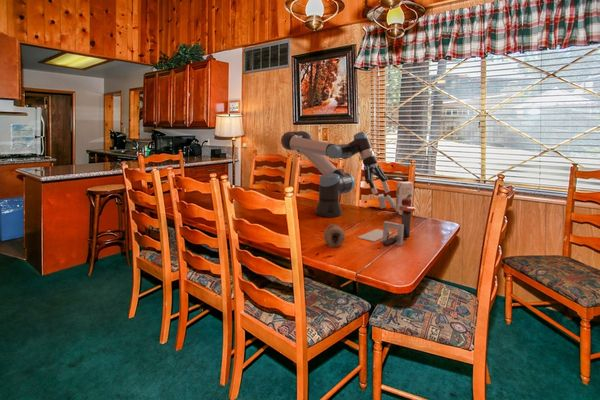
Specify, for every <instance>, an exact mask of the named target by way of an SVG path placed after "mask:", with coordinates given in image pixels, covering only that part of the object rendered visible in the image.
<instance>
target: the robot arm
mask: <svg viewBox="0 0 600 400" xmlns="http://www.w3.org/2000/svg"><path fill="white" fill-rule="evenodd" d="M280 144H281V146H282V148H284V149H285V150H286V151H293V152H297V153H298V154H299V155H300V156H302V155H304V157H306V158H307V160H308V161H310V162H311V164H313V165H314V167H315V168H316V169H317V170H318V171H319V172H320V173H321V174H322V175H320V176H319V181H318V184H319V187H318V189H319V190H318V203H317V205H316V208H315V215H316V214H317V216H318V215H319V217H323V216H324V217H325V218H333V217H334V218H337V217H340V216H342V208H341V204H340V195H343V194H348V193H350V192H351V191H352V190H354V187H355V185H356V184H355V181H356V180H355V178H354V176H353V175H352V174H351V173H348V172H345V171H344V170H343V169H342V168H337V167H336V166H335V164H333V163H332V162H331V161H330V160H329V159H335V160H336V159H337V160H338V159H342V160H348V159H351V158H352V157H353V156H355V155H356V154H358V153H359V156H360V158H361V161H362V163H363V171H364V179H365V183H366V184H367V185H369V187H370V191H371V193H372V195H376V194H378V189H377V187H376V183H375V182H374V181H373V178H374V175H376V177H377V178H378V179H379V180H380V181H381V185H382V187H383V190H384V193H385V194H387V193H389V192H390V191H391V190H390V187H389V185H388V183H387V181H388V179H389V178H388V176H387V175H386V174H385V172H384V171H383V169H382V168H381V165H380V164H378V165H377V162H378V160H377V157H376V155H375V153H374V149H373V148H372V145H371V143H370V138H369V137H368V135H367V133H366V131H359V132H357V133H355V134H354V135H353V140H352V141H351V142H349V143H343V144H336V143H335V144H334V143H330V142H324V141H320V140H316V139H315V140H314V139H313V138H312V135H311V134H310V133H309V132H307V131H303V130H299V131H286V132H284V133H283V134H282V136H281V139H280ZM327 157H328V158H329V159H328V158H327ZM336 216H337V217H336ZM324 217H323V218H324Z"/></svg>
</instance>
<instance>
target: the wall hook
mask: <svg viewBox="0 0 600 400" xmlns="http://www.w3.org/2000/svg"><path fill="white" fill-rule="evenodd" d="M377 198H378V205H379V208H380V209H383V210H384V209H386V208H387V207H386V201H387V203H389V205H390V207H391V208H392V209H396V201H394V199H393V198H392V197H391V195H389V194H387V195H386V196H385V195H384V193H381V194H377Z"/></svg>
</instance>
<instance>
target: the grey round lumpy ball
mask: <svg viewBox="0 0 600 400" xmlns="http://www.w3.org/2000/svg"><path fill="white" fill-rule="evenodd" d="M323 235H324V237H323V238H324V242H325V244H326V246H328V247H329V248H339V247H340V246H342V245H343V243H344V242H345V240H346V236H345V231H344V230H343V228H341V227H340V225H339V224H334V223H333V224H330V225H328V226H327V227H326V229H325V230H324V232H323Z"/></svg>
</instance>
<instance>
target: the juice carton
mask: <svg viewBox="0 0 600 400" xmlns="http://www.w3.org/2000/svg"><path fill="white" fill-rule="evenodd" d="M395 194H396V195H395V196H396V198H395V204H396V208H395V212H396V214H398V215H400V216H402V212H403V211H401V210H399V208H400V206H412V207H413V200H414V199H413V198H414V183H413V182H412V181H398V182H397V185H396V193H395ZM412 212H413V211H411V213H412Z"/></svg>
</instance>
